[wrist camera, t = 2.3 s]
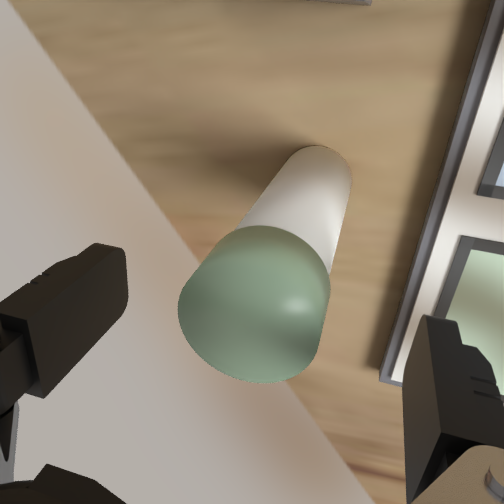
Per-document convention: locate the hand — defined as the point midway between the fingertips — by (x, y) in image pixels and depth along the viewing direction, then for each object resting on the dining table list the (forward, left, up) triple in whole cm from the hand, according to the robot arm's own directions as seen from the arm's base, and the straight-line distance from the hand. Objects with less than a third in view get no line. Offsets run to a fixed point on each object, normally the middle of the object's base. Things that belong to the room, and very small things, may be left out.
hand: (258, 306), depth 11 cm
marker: (0, 0, -10) cm, 10 cm away
